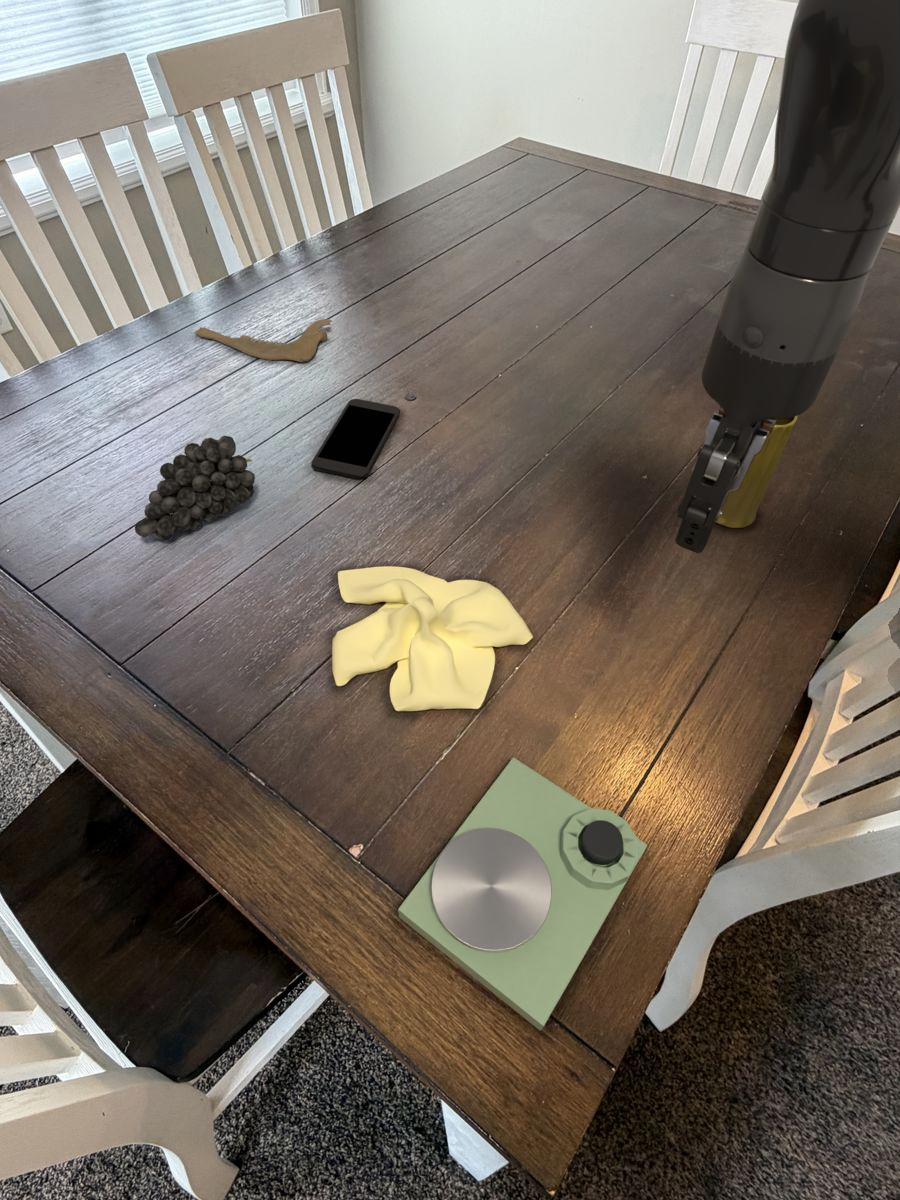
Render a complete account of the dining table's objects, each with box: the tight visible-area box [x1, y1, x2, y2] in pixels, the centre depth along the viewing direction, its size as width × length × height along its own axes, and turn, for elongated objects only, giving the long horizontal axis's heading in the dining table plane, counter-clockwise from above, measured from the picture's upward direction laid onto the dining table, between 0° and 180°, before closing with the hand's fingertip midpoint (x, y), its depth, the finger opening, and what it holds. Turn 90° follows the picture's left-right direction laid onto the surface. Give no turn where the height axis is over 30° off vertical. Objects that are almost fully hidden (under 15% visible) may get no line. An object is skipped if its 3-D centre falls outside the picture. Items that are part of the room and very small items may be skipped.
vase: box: [716, 415, 799, 529], centre depth 82 cm, size 6×6×14 cm
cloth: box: [331, 565, 534, 712], centre depth 72 cm, size 22×19×6 cm
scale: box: [397, 757, 648, 1032], centre depth 57 cm, size 16×13×4 cm
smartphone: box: [311, 398, 401, 480], centre depth 94 cm, size 7×15×1 cm, turn 165°
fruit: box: [134, 435, 256, 541], centre depth 82 cm, size 9×8×15 cm
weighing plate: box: [431, 828, 552, 953], centre depth 55 cm, size 9×9×1 cm
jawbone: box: [193, 318, 333, 363], centre depth 107 cm, size 9×20×2 cm, turn 95°
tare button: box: [581, 820, 623, 865], centre depth 57 cm, size 3×3×2 cm
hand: (707, 514), depth 58 cm, fingers open, 8 cm apart
